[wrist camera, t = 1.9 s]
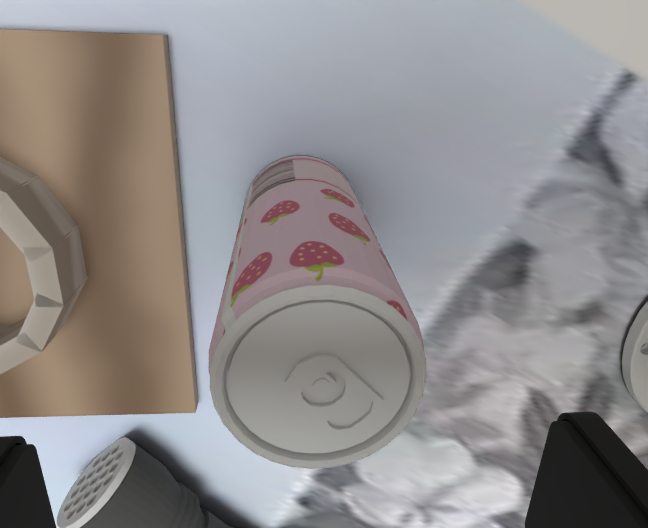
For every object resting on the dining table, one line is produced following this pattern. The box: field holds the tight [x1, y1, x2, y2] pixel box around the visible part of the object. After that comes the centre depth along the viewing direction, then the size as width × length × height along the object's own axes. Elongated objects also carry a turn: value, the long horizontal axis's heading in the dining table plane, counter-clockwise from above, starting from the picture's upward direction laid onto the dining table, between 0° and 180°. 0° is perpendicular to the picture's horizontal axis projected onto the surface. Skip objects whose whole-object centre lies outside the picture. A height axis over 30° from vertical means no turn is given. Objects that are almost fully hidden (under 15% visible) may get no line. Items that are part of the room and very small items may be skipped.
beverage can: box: [209, 156, 426, 469], centre depth 19 cm, size 6×6×15 cm
